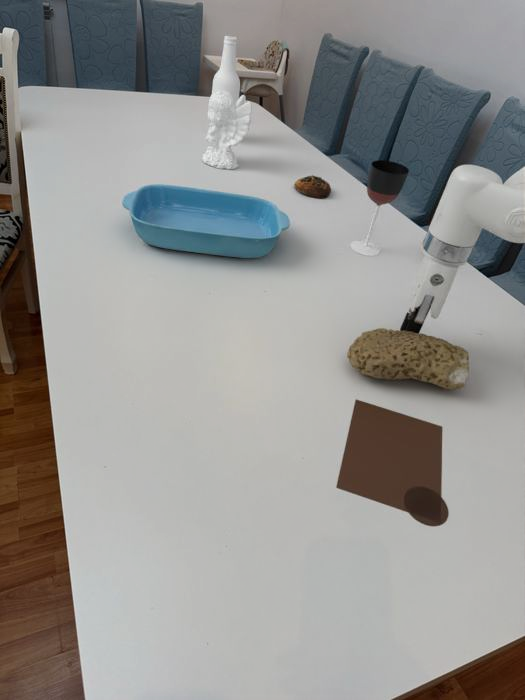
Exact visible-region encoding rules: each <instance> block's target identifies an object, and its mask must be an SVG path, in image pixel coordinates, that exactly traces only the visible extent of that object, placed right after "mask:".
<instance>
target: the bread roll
mask: <svg viewBox="0 0 525 700" xmlns="http://www.w3.org/2000/svg"><path fill="white" fill-rule="evenodd" d="M293 186H294V187H295V190H297V192H299V193H300V194H304V195H305V196H308V197H313V198H317V199H326V198H327V197H329V196H330V194H331V193H332V187H331V184H330V183H329V182H328V181H327V180H326V179H323V178H322V176H317V175H313V174H312V175H307V176H304V177H303V176H302V177H300V178H299V179H297V180H296V181H295V182H294V184H293Z"/></svg>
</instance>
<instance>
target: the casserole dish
mask: <svg viewBox="0 0 525 700" xmlns="http://www.w3.org/2000/svg"><path fill="white" fill-rule="evenodd" d="M122 207H123V208H125V209H126V210H127V211H129V215H130V218H131V221H132V224H133V227H134V230H135V232H136V234H137V236H138V237H139V238H140V239H141V240H142V241H143V242H144V243H146V244H147V245H149V246H152V247H156V248H161V249H166V250H174V251H181V252H189V253H198V254H206V255H212V256H220V257H221V256H222V257H227V258H228V257H229V258H238V259H259V258H262V257H265V256H266V255H268V254H269V253H270V252H271V251H272V250H273V249H274V247H275V245H276V244H277V241H278V239H279V238H280V235H281V233H282V231H285V230H287V229H289V228H290V226H291V221H290V218H289V216H288V215H287V214H286V213H285V212H284V211H282V210H280V209H279V207H278V206H277V205H276V204H275V203H273V202H272V201H269V200H267V199H264V198H261V197H257V196H256V197H255V196H251V195H246V194H245V195H244V194H240V193H239V194H238V193H231V192H225V191H217V190H211V189H210V190H209V189H204V188H203V189H202V188H195V187H190V186H189V187H188V186H183V185H182V186H181V185H172V184H163V183H161V184H157V183H156V184H147V185H143V186H141V187H140V188H138V189H137V190H134V191H131V192H128V193H127V194H126V195H125V196H123V199H122Z"/></svg>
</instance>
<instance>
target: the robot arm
mask: <svg viewBox="0 0 525 700" xmlns="http://www.w3.org/2000/svg"><path fill="white" fill-rule="evenodd" d="M483 229H484V230H485V231H487V232H489V233H491V234H492V235H495V236H497V237H498V238H501V240H505V241H507V242H511V243H514V244H525V166H523V167H521V168H520V169H519V170H517V171H516V172H515V173H513V174H512V175H511V176H509V177H508V178H507V179H506V180H505V181H504V183H503V180H502V178H501V176H500V175H499V174H498V173H496V172H495V171H493V170H491V169H489V168H486V167H483V166H480V165H475V164H462V165H458V166H457V167H455V168H454V169H453V170H452V172H451V174H450V175H449V178H448V180H447V182H446V185H445V188H444V190H443V192H442V195H441V197H440V200H439V202H438V205H437V206H436V210H435V212H434V214H433V217H432V219H431V222H430V224H429V227H428V229H427V231H426V234H425V236H424V238H423V241H422V244H421V246H420V249H421V250H420V251H422V253H423V254H424V256H423V259H422V261H421V263H420V266H419V268H418V272H417V274H416V276H415V279H414V282H413V287H412V291H411V297H410V304H409V308H408V312H406V314H405V316H404V318H403V321H402V323H401V326H400V327H399V331H410V332H415V333H420V332H421V330H422V328H423V326H424V323H425V320H426V319H427V317H428V314H429V313H430V317H431V318H433V319H435V320H436V319H438V318H439V316H440V314H441V312H442V310H443V307H444V305H445V302H446V300H447V298H448V295H449V293H450V291H451V289H452V286H453V283H454V282H455V278H456V276H457V272H458V269H459V267H461V266H464V265H465V264H467V261H468V260H469V257H470V256H471V254H472V252H473V249H474V247H475V245H476V243H477V241H478V240H479V237H480V234H481V232H482V230H483Z"/></svg>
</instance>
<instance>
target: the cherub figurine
mask: <svg viewBox="0 0 525 700" xmlns="http://www.w3.org/2000/svg"><path fill="white" fill-rule="evenodd" d="M246 98H247V97H246V95H244V94H242V95H240V96H239V99H238V101H237V102H236V103H235V99H234V97H233V96H232V95H231V94H230V93H229V92H226V91H217V92H216V93H213V94H212V93H211V95H210V97H209V99H208V106H207V107H208V108H207V115H206V117H207V120H208V122H209V123H210V122H212V123H213V124H214V126H212V125H210V124H209V125H210V128H208V130H207V134H206V136H205V141H206V142H208V144H209V146H207V148H206V150H205V152H204V153H203V154H202V155H201V160H202V162H203V163H204V164H206V165H209V166H211V167H212V168H215V169H220V170H223V169H224V170H235V169H236V168H238V167H239V164H238V161H237V159H236V158H235V157H236V155H235V152H233V150H232V148H231V147H236V146H237V145H238V144H239V143H241V142H242V141H244V138H245V137H246V136H247V134H248V132H249V131H250V125H251V123H252V117H251V115H252V113H253V104H252V102H251V101H248V102H246V100H247V99H246Z"/></svg>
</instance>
